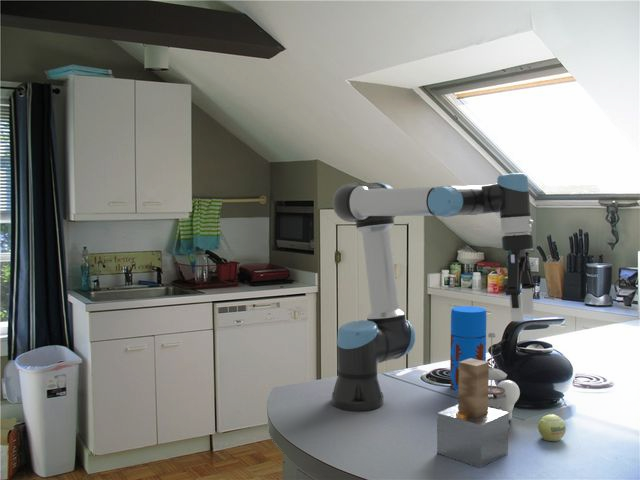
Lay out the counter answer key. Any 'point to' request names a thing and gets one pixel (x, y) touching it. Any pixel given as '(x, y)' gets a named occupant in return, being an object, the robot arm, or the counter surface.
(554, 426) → the tennis ball
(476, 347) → the thermos
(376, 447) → the counter surface
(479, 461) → the silver metal block
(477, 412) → the post
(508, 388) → the lightbulb
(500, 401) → the french press
